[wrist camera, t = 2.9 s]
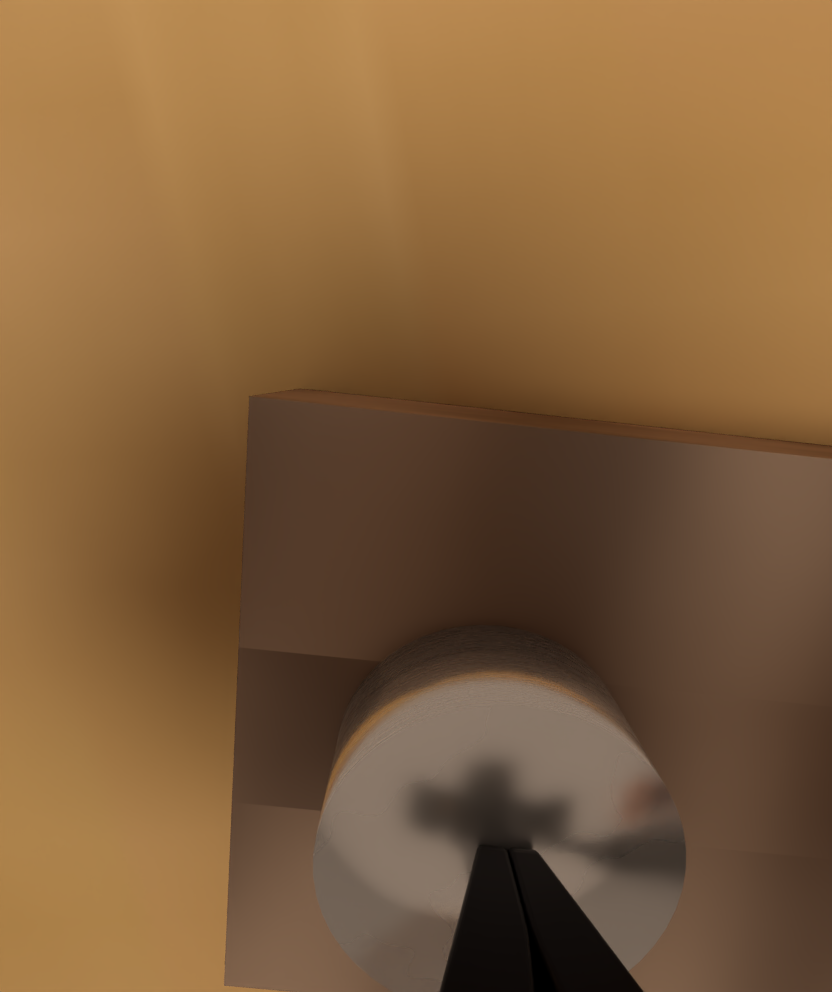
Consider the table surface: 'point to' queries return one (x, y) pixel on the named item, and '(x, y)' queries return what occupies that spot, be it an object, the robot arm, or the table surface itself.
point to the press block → (557, 616)
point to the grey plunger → (487, 800)
